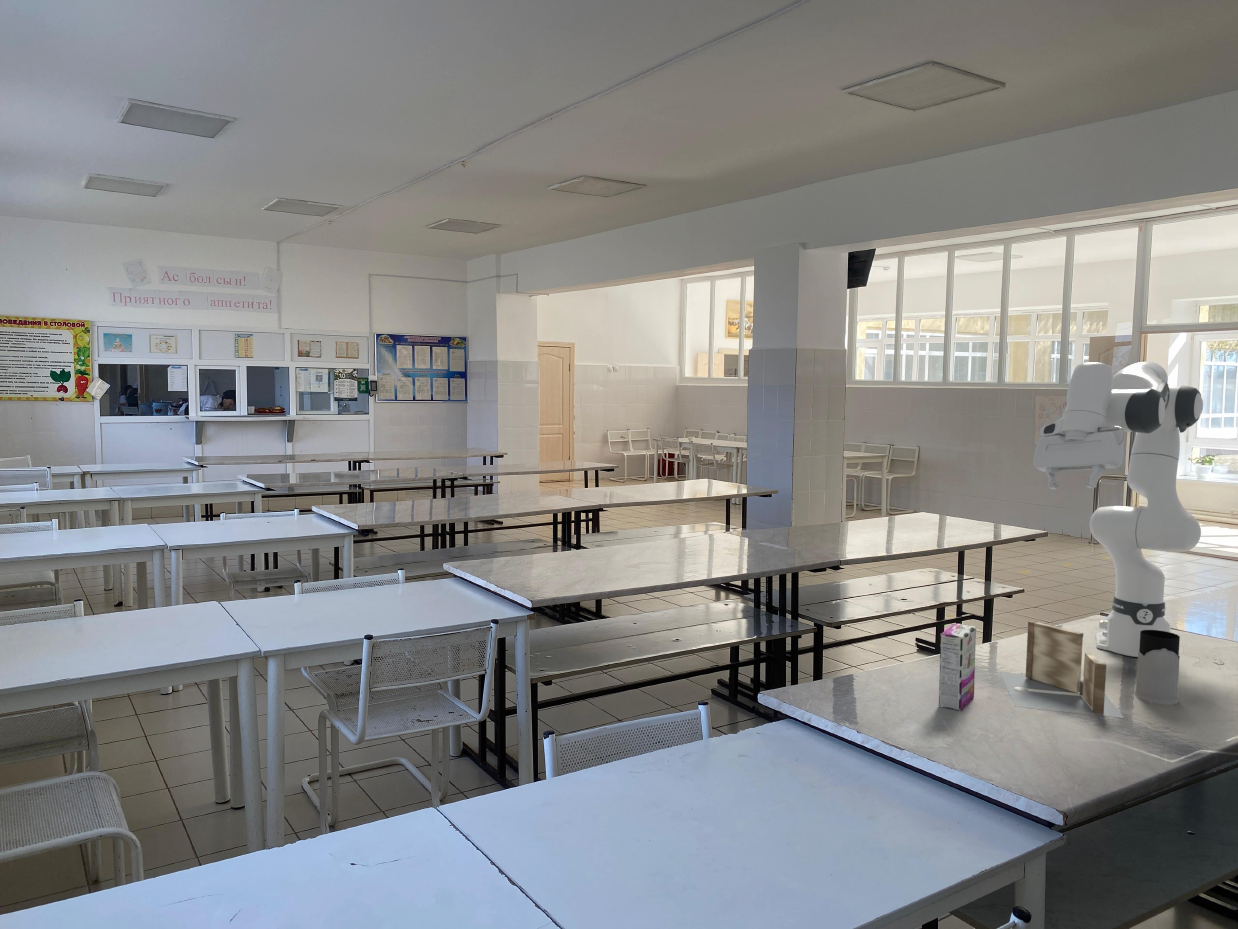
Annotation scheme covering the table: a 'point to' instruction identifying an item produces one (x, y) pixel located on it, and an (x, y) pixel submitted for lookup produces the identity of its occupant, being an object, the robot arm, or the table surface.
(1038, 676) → the brown wooden panel
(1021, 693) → the card
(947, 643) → the candy bar box
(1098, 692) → the bar
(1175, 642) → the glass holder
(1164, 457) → the robot arm
